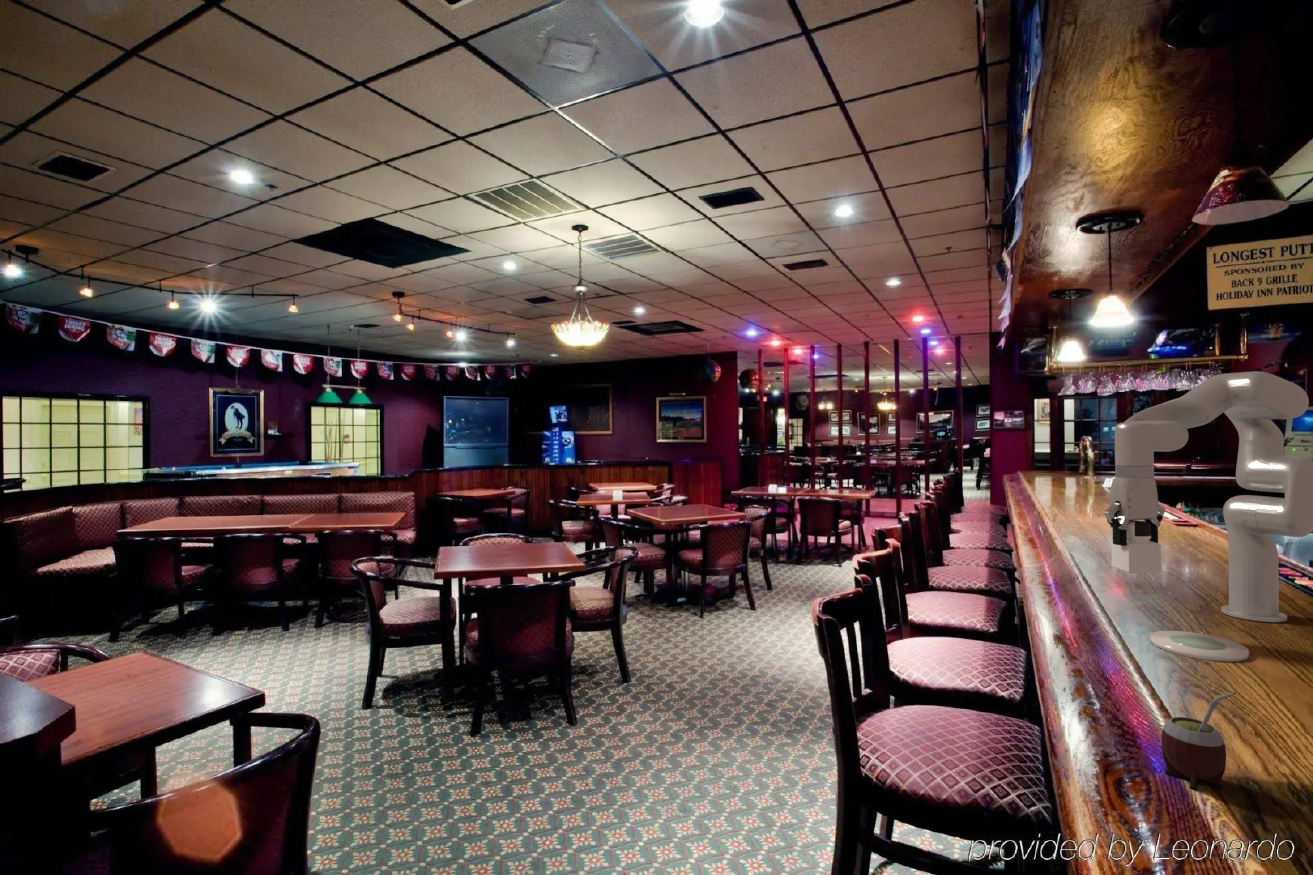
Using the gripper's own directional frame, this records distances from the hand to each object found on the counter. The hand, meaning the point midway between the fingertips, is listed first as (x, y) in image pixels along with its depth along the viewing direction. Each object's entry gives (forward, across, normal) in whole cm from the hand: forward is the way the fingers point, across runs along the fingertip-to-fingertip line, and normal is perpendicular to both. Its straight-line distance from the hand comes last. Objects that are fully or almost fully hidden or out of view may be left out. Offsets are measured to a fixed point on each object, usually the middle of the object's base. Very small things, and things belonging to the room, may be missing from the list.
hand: (1135, 543), depth 153 cm
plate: (+22, -3, +12) cm, 25 cm away
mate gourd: (+22, +53, +54) cm, 79 cm away
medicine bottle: (+7, 0, 0) cm, 7 cm away
